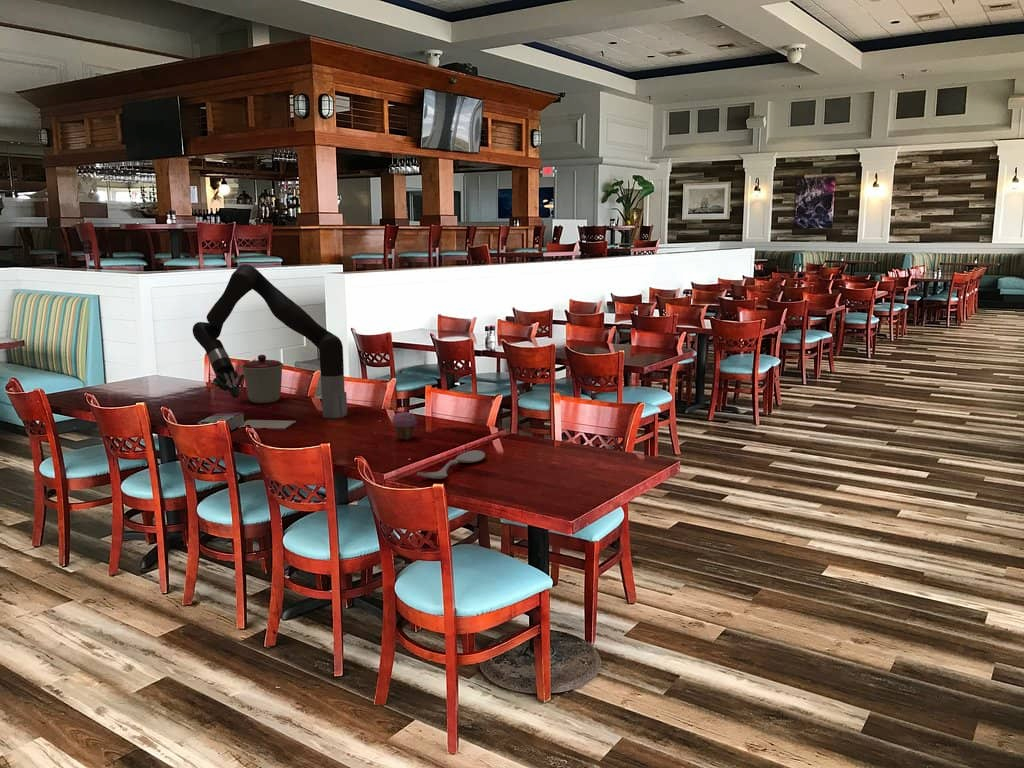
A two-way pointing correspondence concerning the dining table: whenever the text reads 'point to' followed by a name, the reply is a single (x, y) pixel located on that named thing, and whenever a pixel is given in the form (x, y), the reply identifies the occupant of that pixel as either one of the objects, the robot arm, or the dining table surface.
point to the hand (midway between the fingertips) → (236, 396)
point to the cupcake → (404, 425)
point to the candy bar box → (226, 419)
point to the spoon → (464, 458)
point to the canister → (263, 379)
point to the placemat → (267, 424)
